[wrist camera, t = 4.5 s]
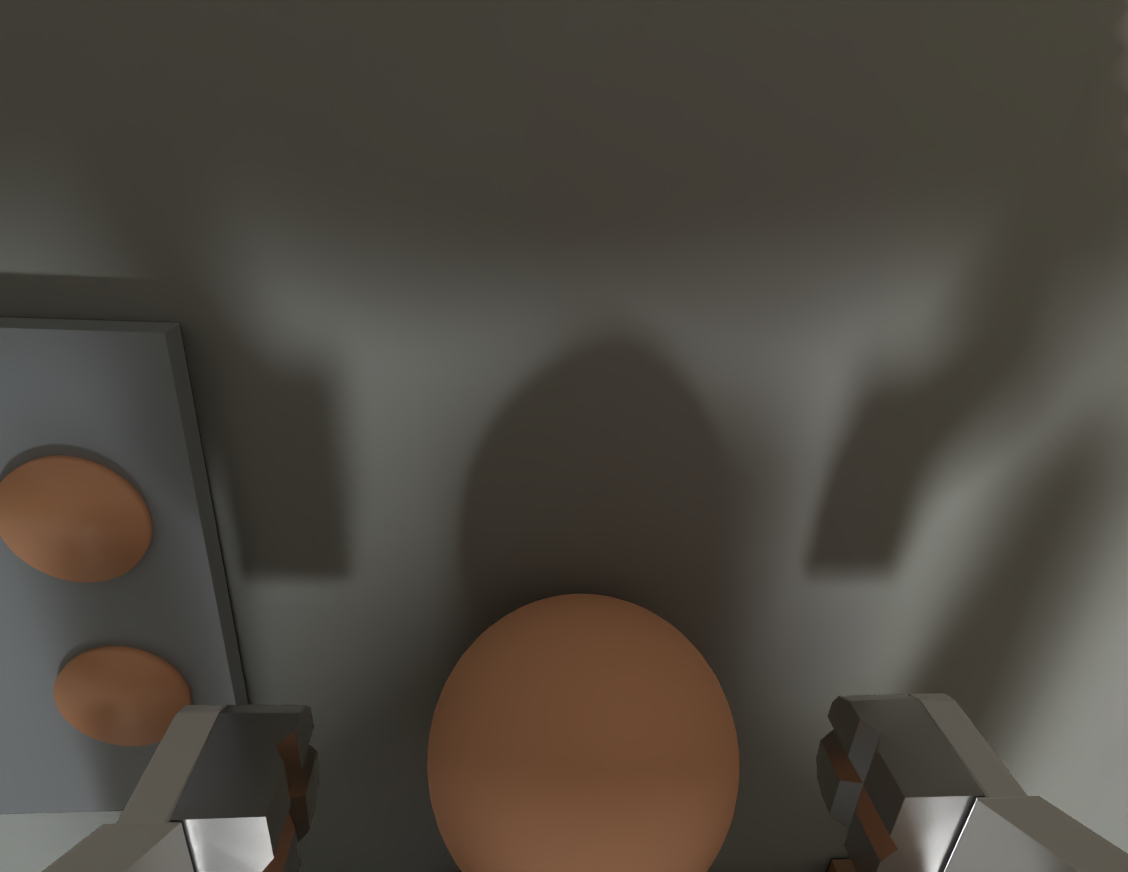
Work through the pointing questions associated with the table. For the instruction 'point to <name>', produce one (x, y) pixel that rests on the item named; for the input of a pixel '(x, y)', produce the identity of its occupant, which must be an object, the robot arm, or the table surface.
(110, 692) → the card
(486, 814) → the loose ball
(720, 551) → the table surface
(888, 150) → the table surface
